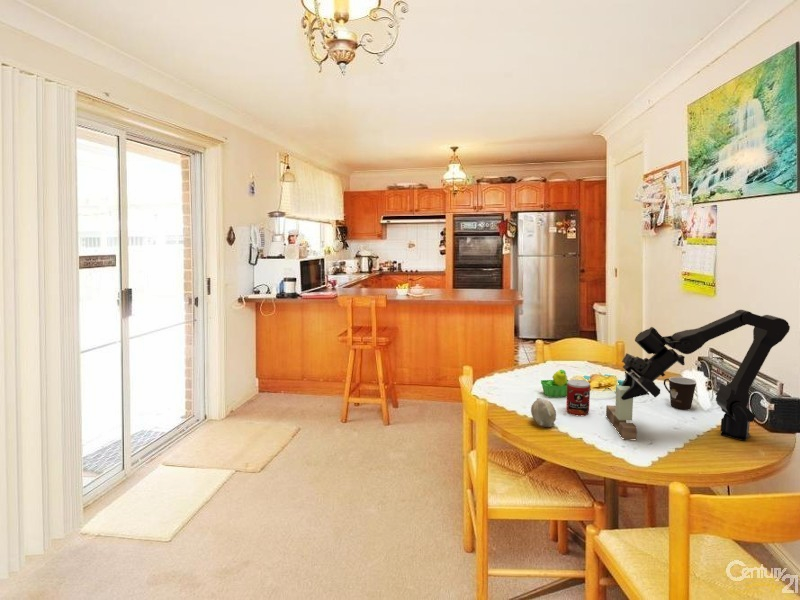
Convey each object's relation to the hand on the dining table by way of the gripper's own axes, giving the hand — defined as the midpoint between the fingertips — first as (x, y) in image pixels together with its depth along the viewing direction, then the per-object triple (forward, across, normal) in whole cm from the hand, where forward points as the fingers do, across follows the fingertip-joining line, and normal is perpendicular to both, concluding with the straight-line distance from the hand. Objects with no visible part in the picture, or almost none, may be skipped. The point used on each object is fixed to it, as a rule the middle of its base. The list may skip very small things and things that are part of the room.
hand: (620, 396), depth 153 cm
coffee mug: (-12, -26, +28) cm, 40 cm away
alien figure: (+3, -47, +15) cm, 49 cm away
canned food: (+15, -15, +1) cm, 21 cm away
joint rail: (+7, -2, +9) cm, 12 cm away
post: (+4, 0, +6) cm, 7 cm away
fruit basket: (+18, -33, -1) cm, 37 cm away
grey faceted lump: (+25, -3, -8) cm, 26 cm away
